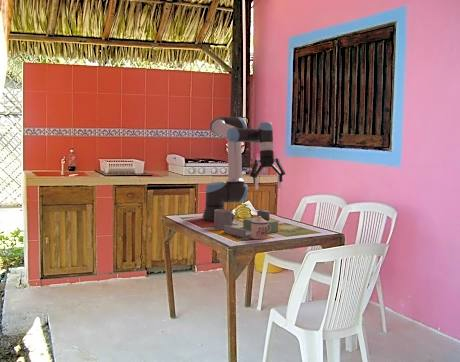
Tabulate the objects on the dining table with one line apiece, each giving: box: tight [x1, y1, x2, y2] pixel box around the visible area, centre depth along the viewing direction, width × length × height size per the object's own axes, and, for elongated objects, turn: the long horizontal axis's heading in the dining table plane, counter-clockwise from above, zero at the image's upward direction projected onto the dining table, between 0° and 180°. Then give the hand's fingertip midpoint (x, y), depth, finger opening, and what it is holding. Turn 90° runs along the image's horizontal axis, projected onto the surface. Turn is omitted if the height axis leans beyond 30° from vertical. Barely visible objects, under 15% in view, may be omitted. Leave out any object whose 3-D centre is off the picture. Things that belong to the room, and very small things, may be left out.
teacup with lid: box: [250, 216, 271, 240], centre depth 295 cm, size 12×9×12 cm
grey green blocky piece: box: [223, 209, 279, 238], centre depth 310 cm, size 16×27×11 cm, turn 133°
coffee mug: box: [213, 208, 235, 230], centre depth 322 cm, size 13×10×10 cm
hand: (268, 188), depth 304 cm, fingers open, 13 cm apart
